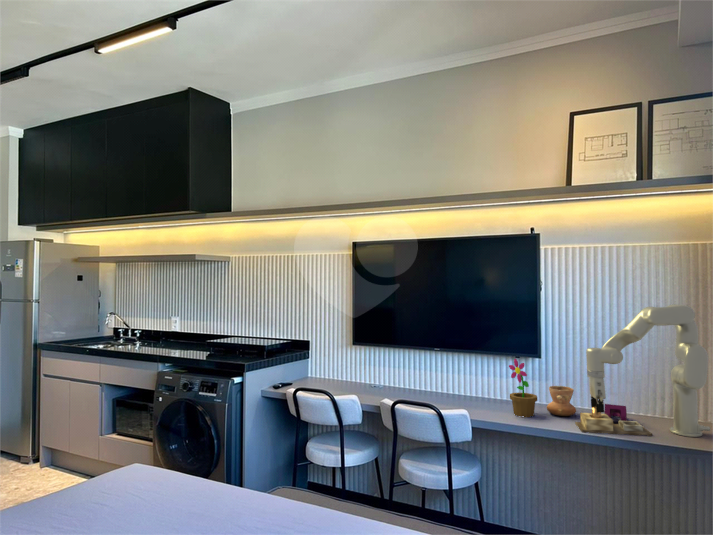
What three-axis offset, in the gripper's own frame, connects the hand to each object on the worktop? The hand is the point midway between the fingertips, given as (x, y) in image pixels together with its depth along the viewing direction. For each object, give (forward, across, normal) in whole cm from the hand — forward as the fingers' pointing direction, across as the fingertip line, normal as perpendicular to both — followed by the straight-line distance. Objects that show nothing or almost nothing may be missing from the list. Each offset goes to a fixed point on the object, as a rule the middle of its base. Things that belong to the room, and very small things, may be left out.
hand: (597, 409), depth 236 cm
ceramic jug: (+9, +25, +12) cm, 29 cm away
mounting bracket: (+10, +18, -13) cm, 24 cm away
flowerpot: (+9, +20, +32) cm, 39 cm away
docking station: (+10, 0, -6) cm, 11 cm away
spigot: (+8, 0, +1) cm, 8 cm away
